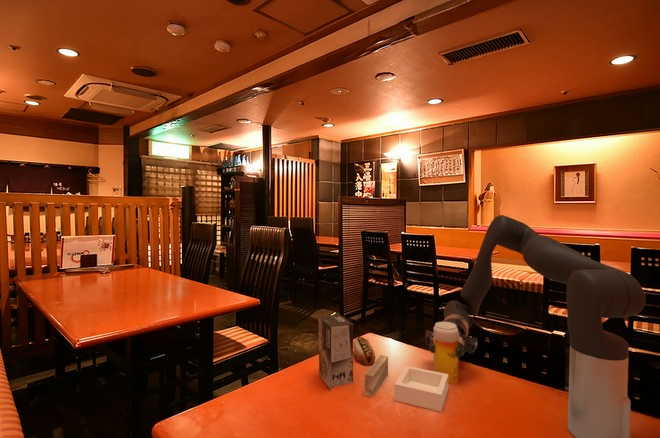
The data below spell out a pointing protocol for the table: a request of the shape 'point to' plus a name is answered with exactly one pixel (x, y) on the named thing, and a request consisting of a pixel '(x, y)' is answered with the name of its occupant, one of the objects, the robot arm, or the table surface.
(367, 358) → the hot dog
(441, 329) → the beer can
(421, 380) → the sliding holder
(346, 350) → the coffee box
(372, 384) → the backstop board
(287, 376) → the table surface
